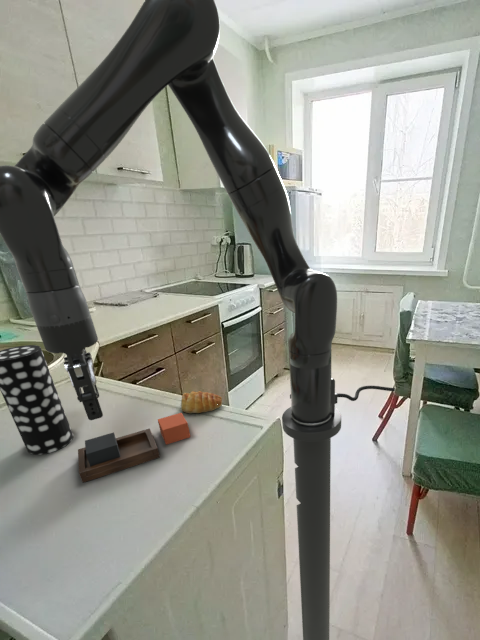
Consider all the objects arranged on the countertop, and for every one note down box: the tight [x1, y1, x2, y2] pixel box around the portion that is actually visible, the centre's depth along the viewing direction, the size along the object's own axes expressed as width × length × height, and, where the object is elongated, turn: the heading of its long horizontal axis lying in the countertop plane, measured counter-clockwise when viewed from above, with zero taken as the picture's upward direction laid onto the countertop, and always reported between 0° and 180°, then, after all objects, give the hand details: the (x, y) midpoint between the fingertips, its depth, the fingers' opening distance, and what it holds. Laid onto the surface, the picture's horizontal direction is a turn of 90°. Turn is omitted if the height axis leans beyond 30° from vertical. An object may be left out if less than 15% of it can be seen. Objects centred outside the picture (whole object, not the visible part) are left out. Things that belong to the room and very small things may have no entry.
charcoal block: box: [84, 431, 121, 467], centre depth 65 cm, size 5×5×4 cm
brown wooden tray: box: [77, 427, 161, 484], centre depth 67 cm, size 13×8×2 cm, turn 120°
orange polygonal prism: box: [157, 412, 191, 445], centre depth 73 cm, size 5×5×4 cm
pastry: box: [180, 390, 223, 414], centre depth 83 cm, size 9×7×4 cm
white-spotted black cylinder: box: [0, 344, 74, 456], centre depth 69 cm, size 8×8×20 cm
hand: (94, 407), depth 62 cm, fingers open, 8 cm apart
